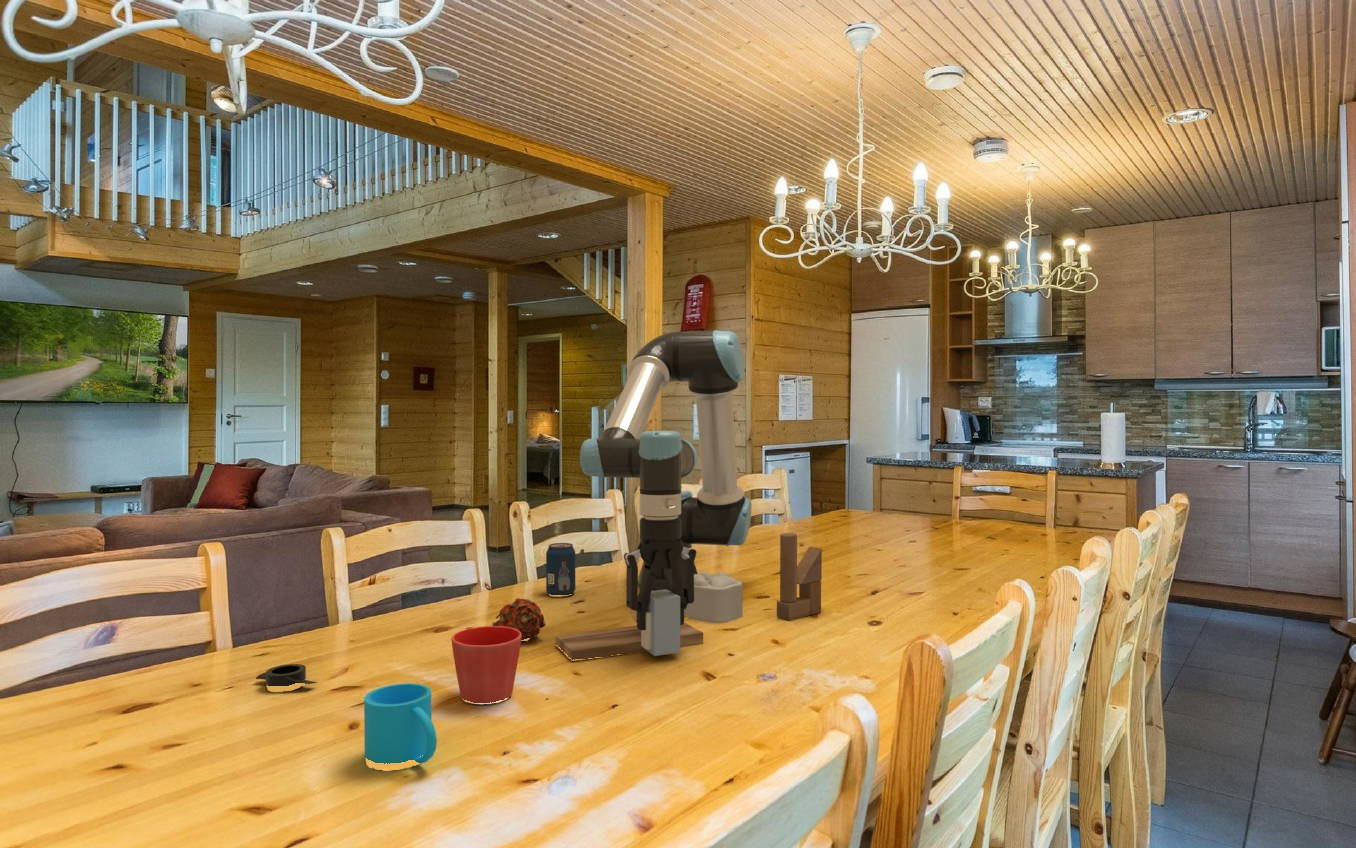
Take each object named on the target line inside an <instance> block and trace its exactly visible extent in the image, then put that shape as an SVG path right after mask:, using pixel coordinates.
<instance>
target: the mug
mask: <svg viewBox="0 0 1356 848" xmlns="http://www.w3.org/2000/svg"><path fill="white" fill-rule="evenodd" d="M363 703H364V705H363V706H364V707H363V708H364V709H363V712H364V713H363V714H364V715H363V718H364V719H363V721H364V722H363V723H364V725H363V726H364V734H363V735H364V738H363V739H364V759H365V758H367V759H368V760H371V761H373V762H375V763H384V764H385V763H387V764H388V763H389V764H390V763H401V762H406V761H408V760H415V761H416V762H418V763H421V764H423V763H427V762H428V761H429V760H430V759H431V758H433V756H434V754H435V752H436V749H437V744H438V743H437V742H438V739H437V732H436V728H435V725H434V722H433V720H432V690H431V688H430V687H429V686H427V685H425V684H420V683H413V682H412V683H410V682H408V683H397V684H395V683H394V684H389V685H384V686H381V687H379V688H375V689H372V690H371V691H369V692H368V693H366V694H365V696H364V697H363ZM422 755H423V756H422ZM420 756H421V757H420Z"/></svg>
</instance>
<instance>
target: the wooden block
mask: <svg viewBox="0 0 1356 848" xmlns="http://www.w3.org/2000/svg"><path fill="white" fill-rule="evenodd" d="M779 546H780V547H779V557H780V558H779V600H777V601H776V618H778V619H782V620H784V621H785V620H786V621H793V620H796V619H800V618H804V617H808V616H813V615H817V614H820V613H822V575H823V574H822V571H823V570H822V563H823V561H822V557H823V556H822V555H823V554H822V553H823V552H822V550H823V549H822V547H815V546H808V548H807V549H806V551H805V553H804V554H803V555H802V558H801V559H800V561H799V563H798V535H797V534H796V533H794V532H784V533H783V532H782V533H781V534H780V537H779ZM798 592H799V593H798ZM798 595H799V596H798Z"/></svg>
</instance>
